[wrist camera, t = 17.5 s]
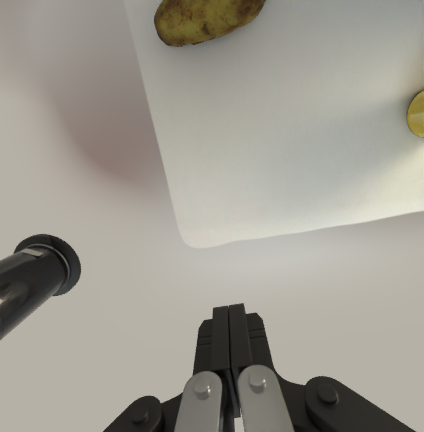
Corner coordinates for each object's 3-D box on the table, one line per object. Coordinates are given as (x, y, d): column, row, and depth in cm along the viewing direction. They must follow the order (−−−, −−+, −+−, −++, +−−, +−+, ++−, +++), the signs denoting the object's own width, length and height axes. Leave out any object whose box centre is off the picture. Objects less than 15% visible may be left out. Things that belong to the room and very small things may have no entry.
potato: (161, -24, 31) (140, -81, 23) (264, -16, 30) (278, -71, 23) (159, 52, 33) (140, 23, 25) (255, 60, 33) (265, 33, 25)
